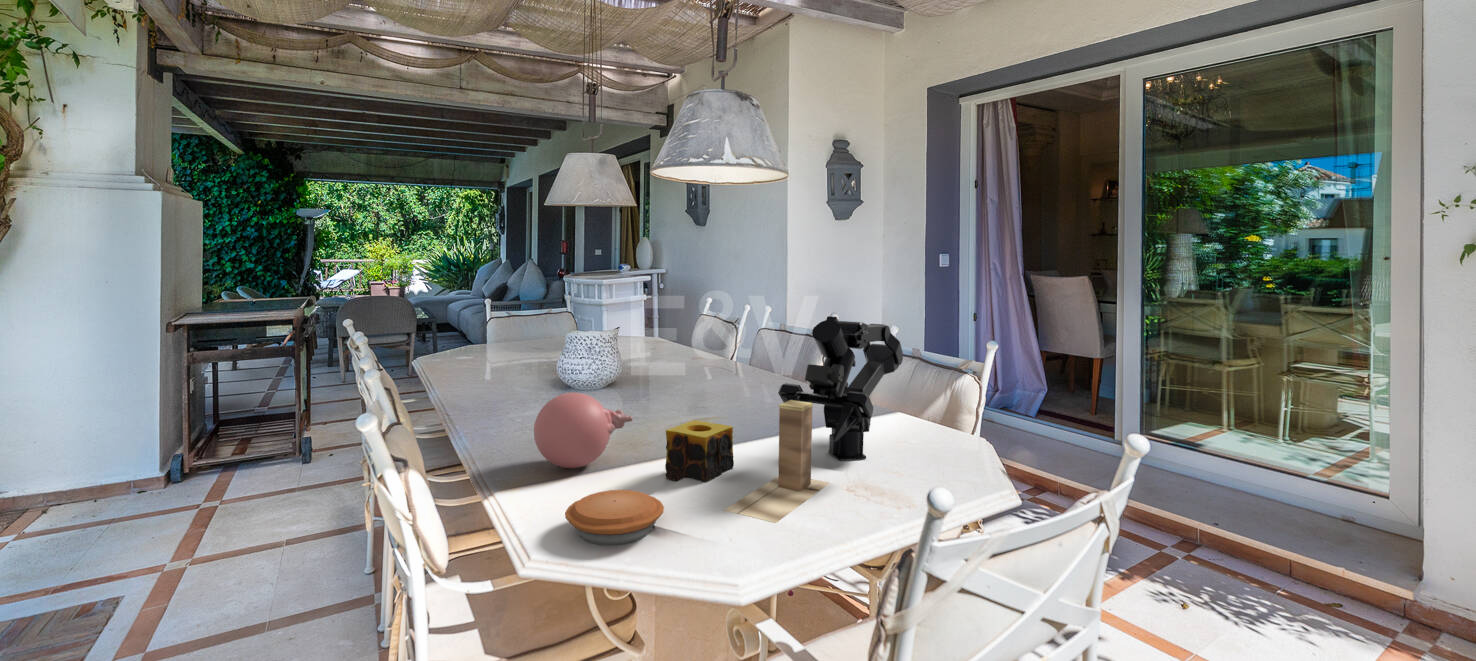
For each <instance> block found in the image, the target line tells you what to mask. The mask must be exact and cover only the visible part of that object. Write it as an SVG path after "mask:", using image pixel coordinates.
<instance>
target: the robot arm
mask: <svg viewBox="0 0 1476 661" xmlns="http://www.w3.org/2000/svg"><path fill="white" fill-rule="evenodd" d="M811 333H812V334H811V335H812V337H813V340H814V342H815V344H816V346H817V348H818V350H819V353H820V354H821V356H823V357H824V358H825V359H824V362H823V364H822V365H819V364H810V363H809V364H807V365H806V371H805V376H804V381H805V382H808V383H809V388H810V390H812V392H808V391H804V390H803V388H802V386H801V385H800V384H794V383H788V382H787V383H783V384H781V386H780V387H779V390H778V392H777V393H778V395H779V397H780V399H781V400H782V403H784V402H787V401H789V400H795V401H802V402H810V403H813V404H817V405H824V406H823V416H824V423H825V428H827V429H829V428H830V429H831V433H830V434H829V435H828V436H829V437H828V438H829V441H828V446H829V447H828V451H827V453H829V454H830V455H831V456H833V457H834V458H835V459H836V460H837V461H850V460H863V459H867V455H866V454H864V433H869V432H870V428H871V421H872V420H871V419H872V417H873V413H874V406H873V403H872V401H871V398H870V396H871V395H872V393H873V392H874V390H875V389H876V387H877V386H878V384H879V382H880V381H881V380H882V378H883V377H884V375H887V374H891V373H894V372H895V371H896V370H897V369H898V368H899V367H900V366H901V365H902V363H903V358H904V353H903V349H902V344H901V341H900V340H899V339H898V338H897V337H896V336H895V335H893V333H892V332H891V329H890V327H889V325H886V324H884V323H883V324H882V323H870V324H868V323H867V324H866V323H865V322H862V321H847V320H845V321H844V320H839V319H838V317H837V316H830V315H829V316H827V317H826V320H822V321H821V322H819V323H818V324H816V325H815V326H814V327H813V328H812V332H811ZM873 342H883V343H884V344H882V343H873ZM853 349H854V350H862V351H863V354H864V358H865V362H866V363H865V364H864V365H863V366H862V368H861V369H860V371H858V374H857V375H856V376H855V377H854V378H853V380H852V381H851V382H850V384H848V383H849V382H848V379H849V376H850V374H851V372H852V367H856V366H857V365H856V360H855V359H856V355H855V353H854V351H853Z"/></svg>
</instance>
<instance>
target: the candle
mask: <svg viewBox="0 0 1476 661" xmlns="http://www.w3.org/2000/svg"><path fill="white" fill-rule="evenodd" d="M733 433H734V426H731V425H726V424H721V423H714V422H710V421H709V422H707V421H702V420H701V421H700V420H695V419H694V420H690V421H688V422H685V423H682V424H680V425H676V426H675V427H671V428H668V429H666V430H665V437H666V446H665V449H666V459H665V466H664V469H665V478H666V479H667V480H670V481H674V482H679V481H681V480H683V479H692V480H696V481H699V482H701V483H708V482H711V481H712V480H714V479H716V478H718V477H721V475H723V474H724V473H726V472H728V471H730V470H733V469H734V465H735V463H734V462H735V461H734V450H733V449H734V443H733V442H734V440H733V439H734V436H733Z"/></svg>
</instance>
